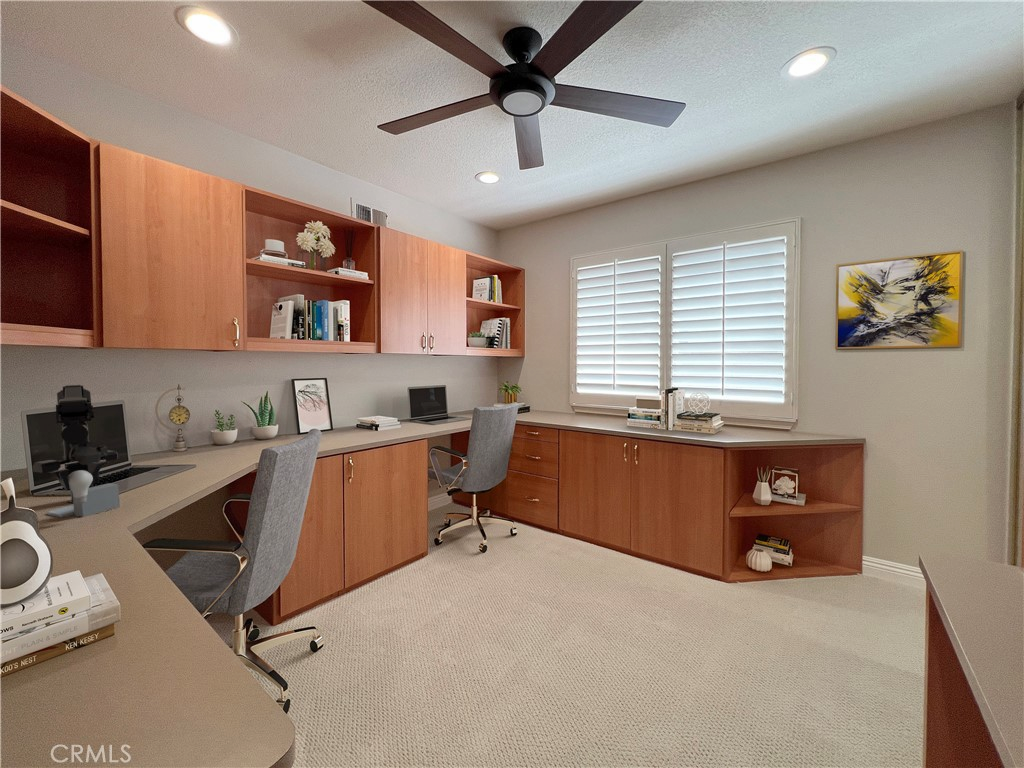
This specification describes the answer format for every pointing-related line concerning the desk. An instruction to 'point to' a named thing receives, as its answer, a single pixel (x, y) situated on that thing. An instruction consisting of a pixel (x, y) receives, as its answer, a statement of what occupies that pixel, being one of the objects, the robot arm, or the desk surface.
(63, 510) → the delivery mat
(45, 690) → the desk surface
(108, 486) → the blue-grey rectangular block
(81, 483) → the lightbulb
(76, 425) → the robot arm
